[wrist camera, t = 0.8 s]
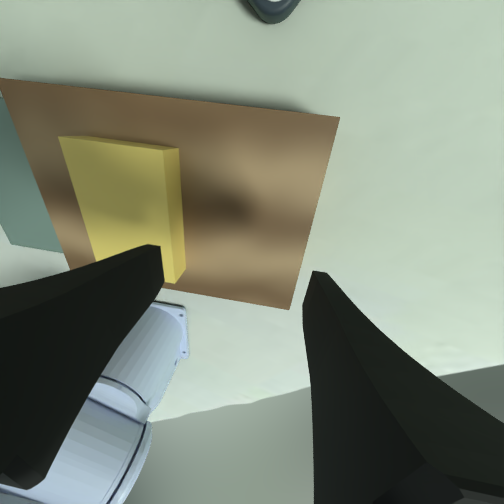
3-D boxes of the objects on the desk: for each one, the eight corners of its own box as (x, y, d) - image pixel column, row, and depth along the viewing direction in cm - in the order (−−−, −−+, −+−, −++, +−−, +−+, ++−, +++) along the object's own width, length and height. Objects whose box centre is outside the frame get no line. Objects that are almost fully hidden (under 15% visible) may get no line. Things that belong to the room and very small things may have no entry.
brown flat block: (288, 281, 22) (289, 310, 18) (103, 250, 23) (70, 271, 20) (327, 120, 15) (340, 116, 11) (58, 89, 16) (-5, 77, 13)
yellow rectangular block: (185, 268, 18) (175, 283, 16) (116, 257, 18) (99, 270, 16) (178, 148, 13) (162, 150, 11) (86, 136, 13) (57, 136, 12)
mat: (105, 258, 23) (103, 260, 23) (13, 243, 24) (11, 244, 24) (62, 105, 17) (59, 104, 16) (-64, 90, 17) (-70, 89, 17)
